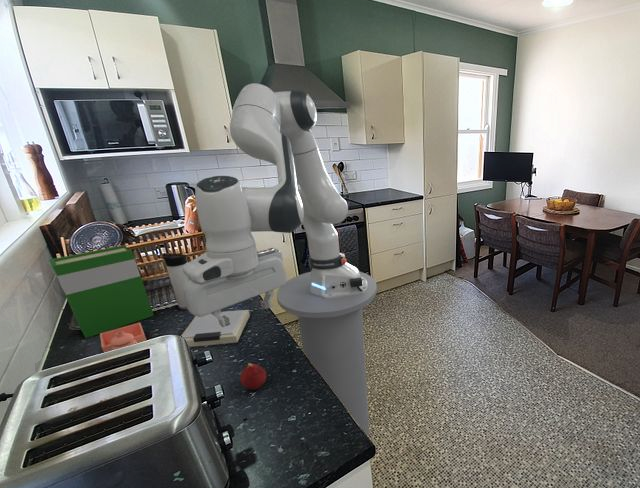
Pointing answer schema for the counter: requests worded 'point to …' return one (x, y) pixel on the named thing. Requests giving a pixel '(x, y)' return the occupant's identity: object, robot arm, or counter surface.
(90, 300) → the green box
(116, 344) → the red box
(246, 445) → the counter surface
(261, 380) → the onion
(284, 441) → the counter surface
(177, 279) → the travel mug
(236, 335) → the scale
